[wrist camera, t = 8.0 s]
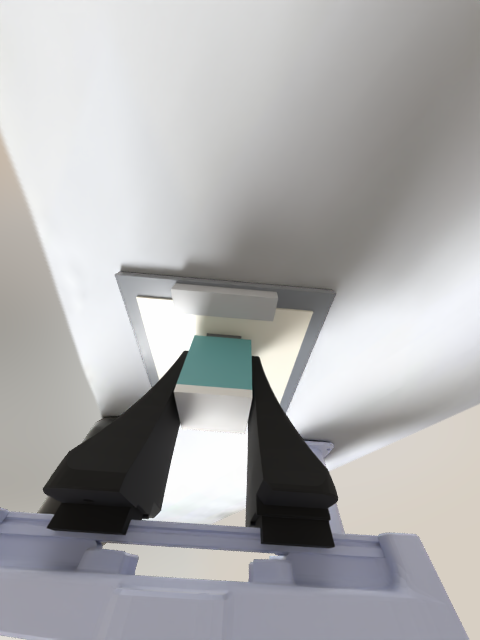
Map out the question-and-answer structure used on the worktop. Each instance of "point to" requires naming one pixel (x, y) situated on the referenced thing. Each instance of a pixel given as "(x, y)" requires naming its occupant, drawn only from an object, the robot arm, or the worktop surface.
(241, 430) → the teal-topped white block
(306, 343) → the clipboard
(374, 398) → the worktop surface
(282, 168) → the worktop surface
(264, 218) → the worktop surface
